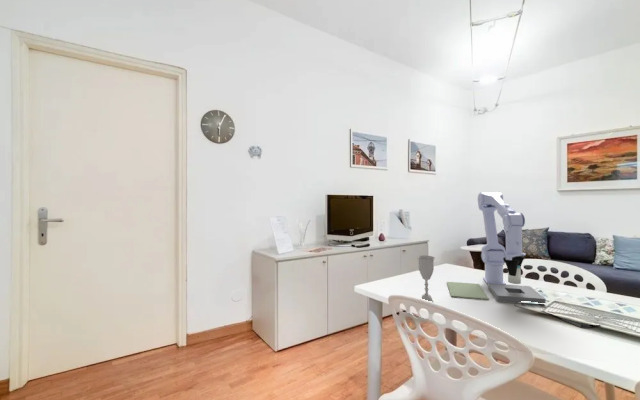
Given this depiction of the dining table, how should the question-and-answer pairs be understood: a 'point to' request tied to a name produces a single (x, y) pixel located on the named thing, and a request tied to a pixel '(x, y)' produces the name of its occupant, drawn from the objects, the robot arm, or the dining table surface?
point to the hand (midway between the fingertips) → (514, 274)
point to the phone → (577, 323)
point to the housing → (515, 293)
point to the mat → (466, 290)
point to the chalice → (426, 272)
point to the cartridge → (516, 278)
